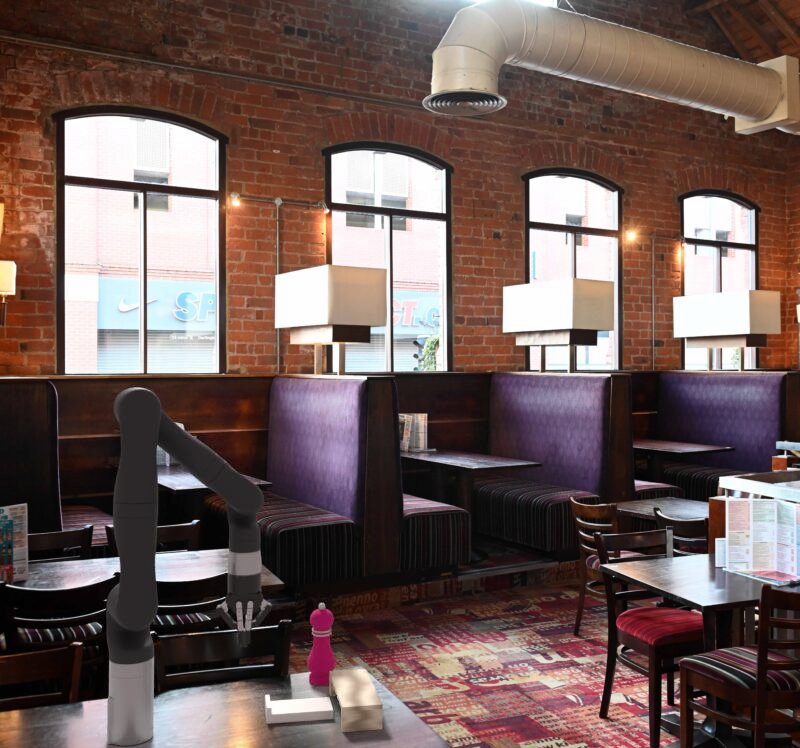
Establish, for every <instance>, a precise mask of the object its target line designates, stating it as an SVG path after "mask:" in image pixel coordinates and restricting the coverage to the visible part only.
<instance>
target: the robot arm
mask: <svg viewBox="0 0 800 748" xmlns="http://www.w3.org/2000/svg"><path fill="white" fill-rule="evenodd" d="M113 415H114V417H115V419H116V420H117V422H118V424H119V430H120V431H119V432H120V458H119V464H118V470H117V473H116V478H115V482H114V483H115V484H114V491H113V498H112V499H113V501H112V502H113V504H112V506H113V507H112V509H113V510H112V524H113V525H112V526H113V533H114V538H115V543H116V548H117V552H118V556H119V557H118V558H119V559H118V560H119V570H120V571H119V573H120V574H119V583H117V584H115V586H114V587H113V588H112V589H111V591H110V592H109V594H108V596H107V600H106V612H105V613H106V642H107V648H108V654H109V655H108V659H109V660H108V662H109V663H108V664H109V666H108V669H109V670H108V698H107V700H106V701H107V704H106V707H107V711H106V712H107V714H106V717H107V718H106V719H107V721H106V722H107V723H106V729H107V731H106V743H107V745H111V744H112V745H116V746H135V745H140V744H143V743H146V742H147V741H149V740H151V739H152V738H153V737H154V729H155V728H154V727H155V726H154V709H155V708H154V706H155V705H154V704H155V698H154V696H155V693H154V688H155V683H154V682H155V681H154V680H155V676H154V675H155V643H154V641H153V637H152V633H151V624H152V623H153V622H154V620H155V618H156V616H157V613H158V609H159V599H158V598H159V597H158V588H157V573H156V553H157V540H158V539H157V538H158V520H159V519H158V518H159V478H158V477H159V475H158V474H159V473H158V459H157V455H158V454H157V453H158V452H157V451H158V447H159V448H160V449H162V450H163V451H164V452H165V453H167V455H169V457H171V458H172V459H173V460H174V461H176V462H177V463H178V465H180V466H181V467H182V468H183V469H184V470H186V471H187V473H188V474H190V475H191V476H192V477H194V478H195V479H196V480H197V481H199V482H200V483H201V484H202V485H204V486H205V487H206V488H208V489H209V490H210V491H213V492H215V493H216V494H217V495H219V496H220V497H221V499H223V500H224V501H225V502H226V503H225V504H226V513H227V514H226V515H227V520H228V521H227V522H228V527H229V535H228V536H229V538H228V557H227V567H226V568H227V594H226V595H225V600H224V601H223V602H222V603H221V604H217V605H216V612H217V614H218V615H219V616H220V618H222V620H223V621H224V622H225V623H226V624H227V626H228V627H229V628H230V629H232V630H236V631H237V644H238V646H239V645H240V648H247V647H248V645H250V644H251V637H252V636H251V634H252V633H251V632H252V629H255V628H259V627H260V625H261V624H262V622H263V621H264V620H265V618H266V617H267V616H268V614H269V613H270V612H271V611H272V609H273V605H272V603H271V602H268V601H266V599H264V595H263V593H262V555H261V529H260V527H259V525H258V522H257V513H258V512H260V510H261V509H262V508H263V506H264V501H265V496H264V493H263V491H262V490H261V489H260V487H259V486H258V485H256V484H255V483H253V481H251V480H250V479H248V478H247V477H246V476H245V475H243V474H241V473H240V472H238V471H237V470H236V469H235V468H233V466H231V464H229V462H227V461H226V460H225V459H224V458H222V457H221V456H220V455H219V454H218V453H217V452H215V450H213V449H212V448H210V447H209V446H208V445H206V444H205V443H203V442H202V441H201V440H200V439H198V438H197V437H195V436H193V435H192V434H190V433H189V432H188V431H186V430H185V429H184V428H182V427H181V426H179V425H178V424H177V423H176V422H175V421H174V420H173V419H171V417H170V416H168V415H167V413H166V412H165V411H164V410H163V409H162V404H161V400H160V398H159V397H158V396H157V395H156V393H155V392H153V391H152V390H149V389H148V388H144V387H137V386H136V387H129V388H127V389H124V390H122V391H121V392H119V394H118V395H117V396H116V398H115V400H114V401H113ZM260 605H261V606H260ZM259 607H260V612H258V614H257V615H256V617H255V618H254V619H253V614H254V613H255V614H256V611H257V610H258V608H259ZM229 609H230V611H232V613H233V614H235V616H236V619H237V621H235V620H234V619H233V617H232V616H231V615H230V614H229V613H228V610H229ZM243 616H245V623H244V619H243Z"/></svg>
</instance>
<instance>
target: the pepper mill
mask: <svg viewBox="0 0 800 748" xmlns="http://www.w3.org/2000/svg"><path fill="white" fill-rule="evenodd" d="M334 620H335V619H334V615H333V612H332V611H331V610H329V609H327V608H326V604H325V603H324V602H320V603H319V604H318V608H317V609H314V610H313V611H312V613H310V618H309V622H310V625H311V626H312V628H311V631H312V632H311V635H313V642H312V643H313V645H312V648H311V651H310V653H309V655H308V658H307V662H306V663H307V665H306V667H307V669H308V671H309V672H310V673H309V674H308V683H310V684H311V685H313V686H318V687H319V686H322V685H324V686H328V684H329V672H330V671H335V669H336V665H337V664H336V656H335V655H334V652H333V649H332V647H331V646H332V645H331V640H330V639H331V635H332V627H333V626H332V625H333V624H334V622H335V621H334Z"/></svg>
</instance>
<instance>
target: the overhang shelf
mask: <svg viewBox="0 0 800 748" xmlns="http://www.w3.org/2000/svg"><path fill="white" fill-rule="evenodd" d="M328 688H329V689H328V690H329V692H328V693H329V697H336V698H337V702H338V701H339V702H338V704H339V706H340V707H339V708H340V729H341V732H342V733H350V732H361V731H362V732H363V731H376V730H383V716H384V715H383V711H384V710H383V705H384V704H383V703H382V700H381V699H380V696H379V693H378V692H377V689H376V688H375V685H374V683H373V681H372V679H371V677H370V675H369V673H368V671H367V669H366V668H361V669H360V668H357V669H341V670H333V671H330V672H329V687H328ZM336 695H337V696H336Z"/></svg>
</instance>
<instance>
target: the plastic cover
mask: <svg viewBox="0 0 800 748" xmlns="http://www.w3.org/2000/svg"><path fill="white" fill-rule="evenodd" d="M264 714H265V720H266V724H269V725H270V724H282V723H297V722H309V721H310V722H311V721H321V720H322V721H324V720H333V719H334V709H333V706H332V702H331V699H330V696H327V697H326V696H325V697H311V698H310V697H309V698H295V699H282V700H281V699H279V700H271V696H270V694H265V695H264Z"/></svg>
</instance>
